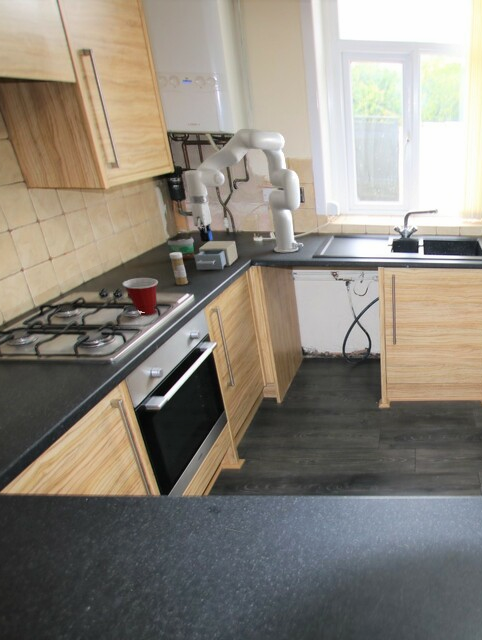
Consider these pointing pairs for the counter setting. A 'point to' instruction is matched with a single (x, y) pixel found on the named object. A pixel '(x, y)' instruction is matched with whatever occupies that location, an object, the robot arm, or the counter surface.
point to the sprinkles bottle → (178, 268)
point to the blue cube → (209, 235)
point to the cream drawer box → (223, 245)
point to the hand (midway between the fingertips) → (207, 239)
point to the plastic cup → (142, 294)
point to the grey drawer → (211, 259)
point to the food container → (183, 247)
